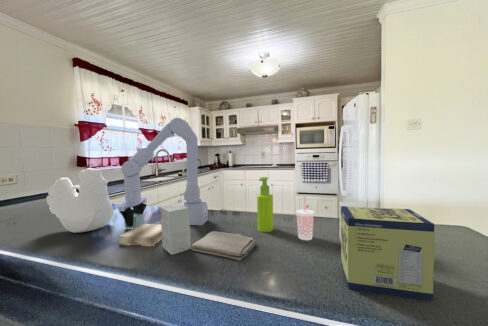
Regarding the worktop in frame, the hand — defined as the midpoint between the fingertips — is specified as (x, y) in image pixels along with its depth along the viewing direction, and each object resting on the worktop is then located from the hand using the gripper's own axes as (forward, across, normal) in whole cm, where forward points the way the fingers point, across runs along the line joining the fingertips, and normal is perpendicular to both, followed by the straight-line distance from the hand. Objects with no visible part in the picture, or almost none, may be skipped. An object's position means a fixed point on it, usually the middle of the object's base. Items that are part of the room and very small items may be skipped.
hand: (134, 223), depth 87 cm
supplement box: (+2, +8, +81) cm, 81 cm away
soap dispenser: (+2, -2, +53) cm, 53 cm away
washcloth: (+2, +14, +41) cm, 43 cm away
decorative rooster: (+2, +3, -21) cm, 21 cm away
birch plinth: (+1, +10, +12) cm, 16 cm away
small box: (+2, +16, +26) cm, 31 cm away
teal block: (+1, 0, 0) cm, 1 cm away
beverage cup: (+2, +4, +67) cm, 67 cm away
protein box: (+2, +27, +81) cm, 85 cm away
